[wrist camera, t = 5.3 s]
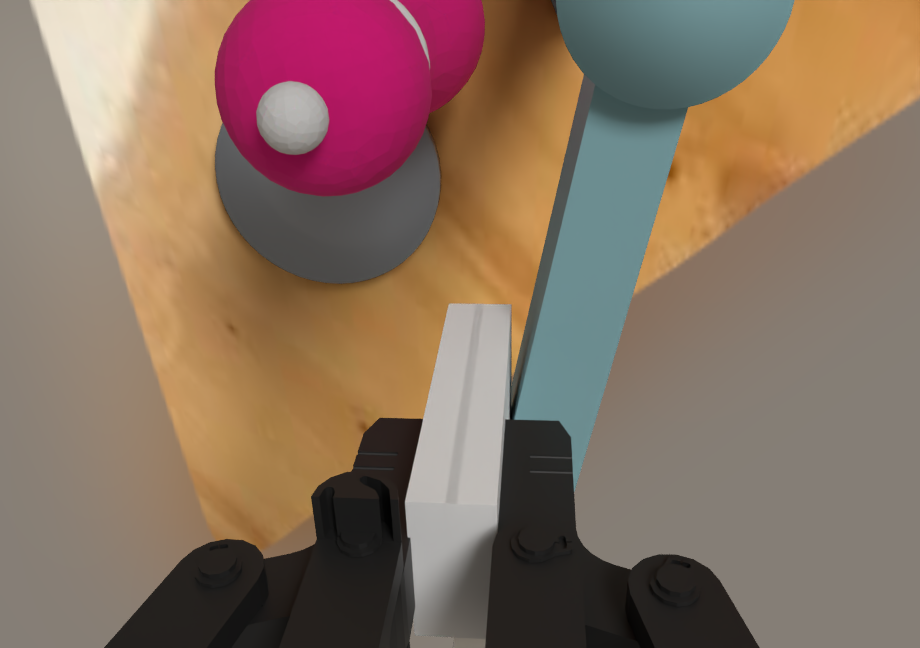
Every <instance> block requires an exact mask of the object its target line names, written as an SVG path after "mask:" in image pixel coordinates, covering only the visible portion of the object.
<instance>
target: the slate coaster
mask: <svg viewBox="0 0 920 648" xmlns="http://www.w3.org/2000/svg"><path fill="white" fill-rule="evenodd" d="M215 170H216V178H217V184H218V188H219V192H220V196H221V199H222V201H223V204H224V206H225V209H226V211H227V213H228V215H229V216H230V218H231V220H232V222H233V224H234V225H235V227H236V228H237V229H238V231H239V232H240V234H241V235H242V236H243V237H244V238H245V240H246V241H247V242H248V243H249V244H250V245H251V246H252V247H253V248H254V249H255V250H256V251H257V252H258V253H260V254H261V255H262V256H263V257H265V258H266V259H267V260H269V261H270V262H271V263H273V264H275V265H276V266H278V267H280V268H282V269H283V270H285V271H287V272H290V273H292V274H294V275H297V276H299V277H303V278H306V279H309V280H313V281H319V282H324V283H339V284H340V283H354V282H359V281H364V280H368V279H371V278H374V277H377V276H380V275H382V274H384V273H386V272H388V271H390V270H392V269H393V268H395V267H396V266H398V265H399V264H401V263H402V262H403V261H405V260H406V259H407V258H408V257H409V256H410V255H411V254H412V253H413V252H414V251H415V250H416V249H417V247H418V246H419V245H420V244H421V242H422V241H423V239H424V238H425V236H426V234H427V233H428V231H429V228H430V226H431V224H432V222H433V219H434V217H435V214H436V210H437V207H438V203H439V199H440V191H441V168H440V160H439V156H438V152H437V148H436V144H435V142H434V139H433V137H432V135H431V132H430V130H429V128H428V126H427V124H426V126H425V129H424V133H423V135H422V137H421V139H420V141H419V143H418V145H417V146H416V148H415V150H414V151H413V152H412V154H411V155H410V156H409V157H408V159H407V160H406V161H405V162H404V164H403V165H402V166H401V167H400V168H399V169H397V170H396V171H395V172H394V173H393V174H392V175H391V176H390V177H388V178H386V179H385V180H383V181H381V182H380V183H378V184H377V185H375V186H372V187H370V188H367V189H365V190H362V191H360V192H357V193H352V194H347V195H342V196H324V197H323V196H316V195H309V194H303V193H298V192H295V191H292V190H288V189H286V188H284V187H282V186H280V185H278V184H276V183H274V182H272V181H270V180H269V179H268V178H266V177H265V176H264V175H262V174H261V173H260V172H258V171H257V170H256V169H255V168H254V167H253V166H252V165H251V164H250V163H249V162H248V161H247V160H246V159H245V158H244V157H243V156H242V155H241V153H240V152H239V150H238V149H237V147H236V146H235V144H234V143H233V141H232V140H231V138H230V137H229V134H228V132H227V130H226V128H225V126H224V124H222V126H221V129H220V132H219V136H218V139H217V146H216V153H215Z"/></svg>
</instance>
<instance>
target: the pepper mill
mask: <svg viewBox="0 0 920 648" xmlns="http://www.w3.org/2000/svg"><path fill="white" fill-rule="evenodd" d="M484 34H485V19H484V12H483V5H482V1H481V0H250V1H249V2H248V3H247V4H246V5H245V6H244V7H243V8H242V9H241V11H240V12H239V13H238V14H237V15H236V16H235V18H234V20H233V21H232V23H231V25H230V26H229V28H228V29H227V31H226V33H225V34H224V37H223V40H222V43H221V46H220V48H219V51H218V56H217V62H216V67H215V90H216V99H217V105H218V108H219V112H220V116H221V119H222V122H223V124H224V126H225V128H226V130H227V132H228V134H229V137H230V138H231V140H232V141H233V143H234V144H235V146H236V147H237V149H238V150H239V152H240V153H241V155H242V156H243V157H244V158H245V159H246V160H247V161H248V162H249V163H250V164H251V165H252V166H253V167H254V168H255V169H256V170H257V171H258V172H260V173H261V174H262V175H264V176H265V177H266V178H268V179H269V180H270V181H272V182H274V183H276V184H278V185H280V186H282V187H284V188H286V189H288V190H292V191H295V192H298V193H303V194H309V195H316V196H323V197H324V196H342V195H347V194H352V193H357V192H360V191H362V190H365V189H367V188H370V187H372V186H375V185H377V184H378V183H380V182H381V181H383V180H385V179H386V178H388V177H390V176H391V175H392V174H393V173H394V172H395V171H396V170H397V169H399V168H400V167H401V166H402V165H403V164H404V162H405V161H406V160H407V159H408V157H409V156H410V155H411V154H412V152H413V151H414V150H415V148H416V146H417V145H418V143H419V141H420V139H421V137H422V135H423V133H424V129H425V126H426V123H427V120H428V116H429V113H431V112H433V111H435V110H437V109H439V108H440V107H442V106H443V105H445V104H446V103H447V102H449V101H450V100H451V99H452V98H453V97H454V96H455V95H456V94H457V93H458V92H459V91H460V90H461V89H462V88H463V86H464V85H465V84H466V83H467V82H468V80H469V78H470V77H471V75H472V73H473V72H474V70H475V68H476V66H477V63H478V60H479V58H480V55H481V52H482V47H483V42H484Z"/></svg>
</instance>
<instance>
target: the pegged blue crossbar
mask: <svg viewBox="0 0 920 648" xmlns="http://www.w3.org/2000/svg"><path fill="white" fill-rule="evenodd" d="M793 4H794V0H556V7H557V17H558V21H559V26H560V30H561V34H562V36H563V39H564V41H565V44H566V47H567V49H568V50H569V52H570V54H571V56H572V58H573V60H574V61H575V63H576V64H577V65H578V67H579V68H580V69H581V71H582V72H583V73H584V77H583V81H582V85H581V90H580V94H579V98H578V103H577V107H576V111H575V116H574V120H573V124H572V128H571V133H570V137H569V141H568V146H567V150H566V154H565V158H564V163H563V167H562V171H561V176H560V180H559V184H558V188H557V193H556V197H555V201H554V206H553V210H552V214H551V218H550V223H549V227H548V231H547V236H546V240H545V244H544V249H543V253H542V257H541V261H540V266H539V270H538V274H537V279H536V283H535V287H534V291H533V296H532V300H531V304H530V309H529V313H528V317H527V321H526V326H525V330H524V334H523V339H522V343H521V347H520V352H519V356H518V360H517V364H516V369H515V373H514V377H513V382H512V386H511V420H550V421H560V423H561V424H562V425H563V427H564V428H565V430H566V431H567V432H568V434H569V435H570V436H571V444H572V463H573V483H574V491H575V488H576V484H577V481H578V477H579V474H580V471H581V467H582V464H583V461H584V457H585V454H586V450H587V447H588V444H589V440H590V437H591V434H592V430H593V427H594V423H595V420H596V417H597V413H598V410H599V407H600V403H601V400H602V396H603V393H604V390H605V386H606V383H607V380H608V376H609V372H610V369H611V366H612V362H613V359H614V356H615V352H616V349H617V346H618V342H619V338H620V335H621V332H622V329H623V325H624V322H625V318H626V315H627V312H628V308H629V305H630V302H631V298H632V295H633V292H634V288H635V285H636V282H637V278H638V275H639V271H640V268H641V265H642V261H643V258H644V254H645V251H646V248H647V244H648V241H649V238H650V234H651V231H652V227H653V224H654V221H655V217H656V214H657V211H658V207H659V204H660V200H661V197H662V194H663V190H664V187H665V184H666V180H667V177H668V173H669V170H670V167H671V163H672V160H673V156H674V153H675V150H676V146H677V143H678V140H679V136H680V133H681V129H682V126H683V123H684V119H685V116H686V113H687V109H688V107H690V106H694V105H698V104H702V103H704V102H707V101H709V100H712V99H714V98H717V97H719V96H721V95H722V94H724V93H726V92H728V91H730V90H731V89H733V88H734V87H736V86H737V85H738V84H740V83H741V82H743V81H744V80H745V79H746V78H747V77H749V76H750V75H751V74H752V73H753V72H754V71H755V70H756V69H757V68H758V67H759V66H760V65H761V64H762V63H763V61H764V60H765V59H766V58H767V57H768V55H769V54H770V52H771V51H772V50H773V48H774V47H775V45H776V44H777V42H778V40H779V38H780V37H781V35H782V33H783V31H784V29H785V27H786V24H787V22H788V19H789V17H790V14H791V11H792V7H793ZM485 642H486V639H475V638H454V642H453V648H485Z"/></svg>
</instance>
